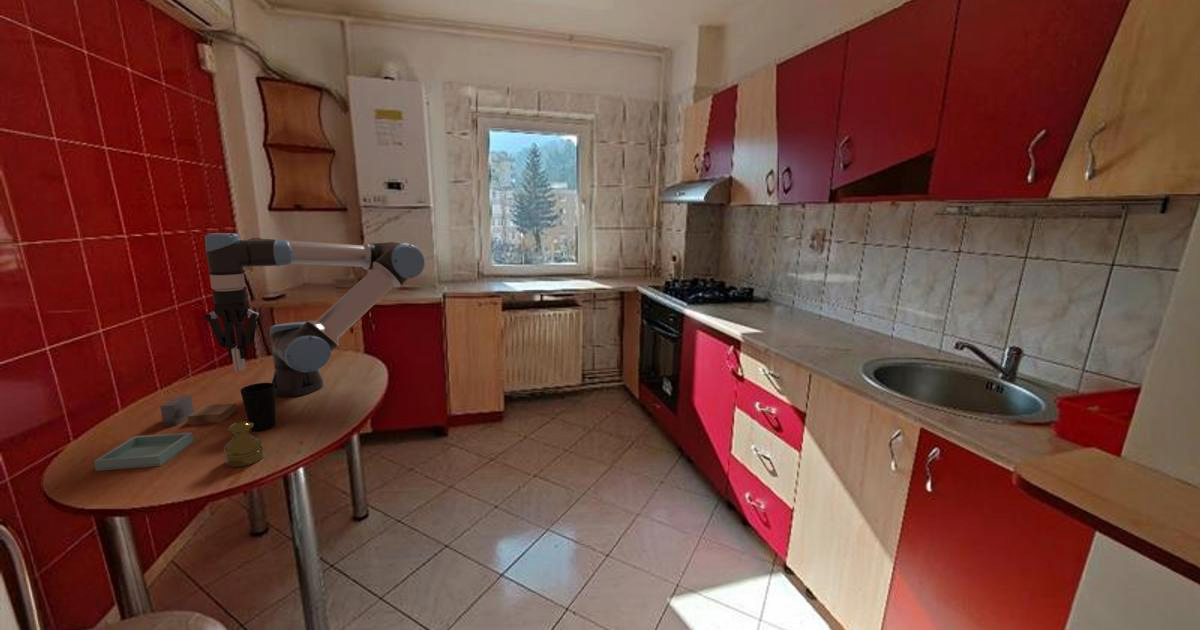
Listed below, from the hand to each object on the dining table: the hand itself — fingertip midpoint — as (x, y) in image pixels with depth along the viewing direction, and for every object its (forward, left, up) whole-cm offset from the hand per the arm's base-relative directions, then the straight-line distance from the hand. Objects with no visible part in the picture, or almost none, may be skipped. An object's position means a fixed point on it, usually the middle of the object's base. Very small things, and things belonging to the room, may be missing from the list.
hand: (240, 369), depth 135 cm
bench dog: (+17, 0, -14) cm, 22 cm away
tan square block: (+8, 0, -15) cm, 17 cm away
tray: (+11, +22, -14) cm, 29 cm away
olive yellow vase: (-13, +29, -15) cm, 35 cm away
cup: (-9, +10, -15) cm, 20 cm away
